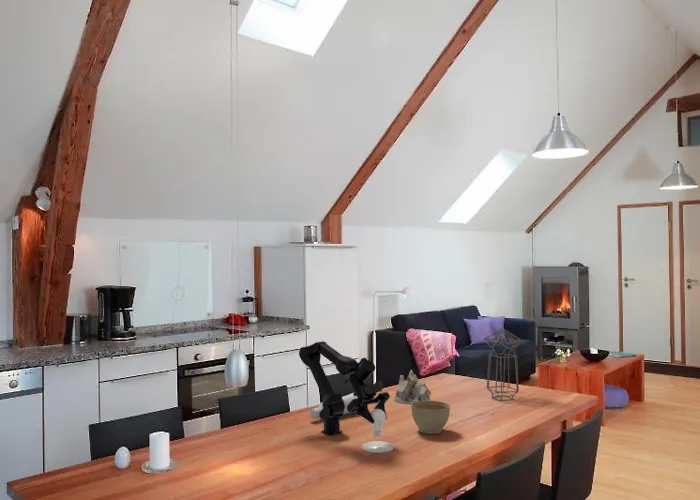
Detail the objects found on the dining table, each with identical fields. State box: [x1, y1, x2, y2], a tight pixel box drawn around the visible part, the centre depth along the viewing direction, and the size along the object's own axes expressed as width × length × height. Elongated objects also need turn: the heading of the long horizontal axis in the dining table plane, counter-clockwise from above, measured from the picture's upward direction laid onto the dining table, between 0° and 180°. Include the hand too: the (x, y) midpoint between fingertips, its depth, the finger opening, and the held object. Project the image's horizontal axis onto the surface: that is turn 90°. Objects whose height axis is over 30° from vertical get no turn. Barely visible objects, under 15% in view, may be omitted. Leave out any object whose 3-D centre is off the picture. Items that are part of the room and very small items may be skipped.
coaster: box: [361, 440, 394, 454], centre depth 229 cm, size 12×12×1 cm
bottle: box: [309, 392, 357, 420], centre depth 274 cm, size 9×9×30 cm
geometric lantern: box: [483, 328, 525, 402], centre depth 305 cm, size 16×16×35 cm
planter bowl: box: [410, 400, 451, 435], centre depth 250 cm, size 16×16×11 cm
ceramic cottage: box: [393, 369, 432, 405], centre depth 300 cm, size 16×16×15 cm
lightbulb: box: [369, 408, 387, 439], centre depth 229 cm, size 6×6×11 cm
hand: (379, 421), depth 228 cm, fingers closed on lightbulb, 6 cm apart
